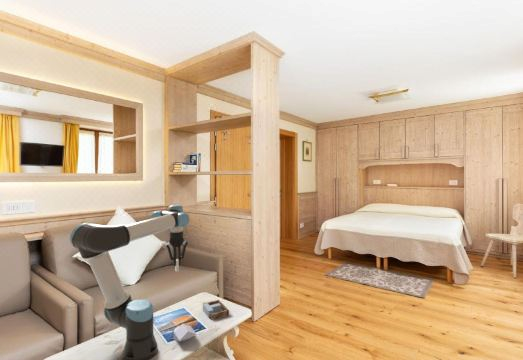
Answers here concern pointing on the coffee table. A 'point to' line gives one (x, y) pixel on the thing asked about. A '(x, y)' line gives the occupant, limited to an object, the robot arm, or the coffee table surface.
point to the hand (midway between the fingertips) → (177, 270)
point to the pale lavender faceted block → (183, 333)
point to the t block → (211, 309)
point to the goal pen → (222, 313)
